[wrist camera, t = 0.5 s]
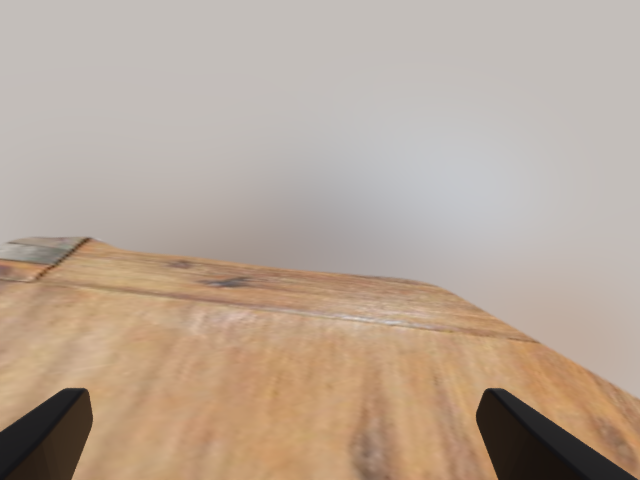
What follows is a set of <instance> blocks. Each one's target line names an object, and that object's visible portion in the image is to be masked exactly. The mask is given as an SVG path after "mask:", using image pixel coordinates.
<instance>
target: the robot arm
mask: <svg viewBox="0 0 640 480" xmlns="http://www.w3.org/2000/svg"><path fill="white" fill-rule="evenodd" d="M476 421H477V425H478V427H479V430H480V433H481V435H482V438H483V441H484V443H485V446H486V449H487V451H488V454H489V457H490V459H491V462H492V464H493V467H494V470H495V472H496V475H497V478H498V480H638V479H637V478H635V477H634V476H632V475H631V474H629V473H628V472H626V471H625V470H623V469H622V468H620V467H619V466H617V465H616V464H614V463H613V462H611V461H610V460H608V459H607V458H605V457H604V456H602V455H601V454H600V453H598V452H597V451H595V450H594V449H592V448H591V447H589V446H588V445H586V444H585V443H583V442H582V441H580V440H579V439H577V438H576V437H574V436H573V435H571V434H570V433H568V432H567V431H565V430H564V429H563V428H561V427H560V426H558V425H557V424H555V423H554V422H552V421H551V420H549V419H548V418H546V417H545V416H543V415H542V414H540V413H539V412H537V411H536V410H534V409H533V408H531V407H530V406H528V405H527V404H526V403H524V402H523V401H521V400H520V399H518V398H517V397H515V396H514V395H512V394H511V393H509V392H508V391H506V390H505V389H501V388H488V389H486V390H485V391H484V393H483V395H482V398H481V401H480V403H479V406H478V409H477V412H476ZM92 423H93V414H92V408H91V402H90V396H89V392H88V390H87V389H85V388H66V389H63V390H61V391H59V392H58V393H57V394H55V395H54V396H52V397H51V398H49V399H48V400H46V401H45V402H43V403H42V404H40V405H39V406H38V407H36V408H35V409H33V410H32V411H30V412H29V413H27V414H26V415H24V416H23V417H22V418H20V419H19V420H17V421H16V422H14V423H13V424H11V425H10V426H8V427H7V428H5V429H4V430H3V431H1V432H0V480H71V479H72V477H73V474H74V472H75V469H76V466H77V464H78V461H79V459H80V456H81V454H82V451H83V448H84V446H85V443H86V441H87V438H88V435H89V433H90V430H91V427H92Z"/></svg>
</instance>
